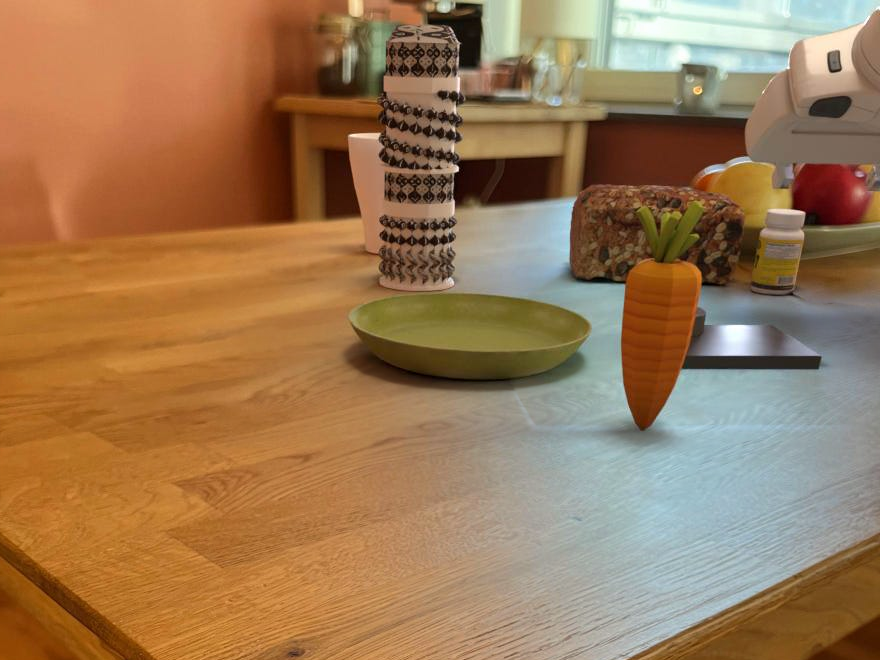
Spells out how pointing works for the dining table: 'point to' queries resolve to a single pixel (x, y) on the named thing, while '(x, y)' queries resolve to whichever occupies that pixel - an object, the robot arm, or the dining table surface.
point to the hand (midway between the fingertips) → (826, 184)
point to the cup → (368, 185)
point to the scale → (745, 348)
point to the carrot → (659, 314)
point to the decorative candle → (419, 157)
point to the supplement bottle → (778, 252)
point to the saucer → (469, 334)
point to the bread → (625, 242)
